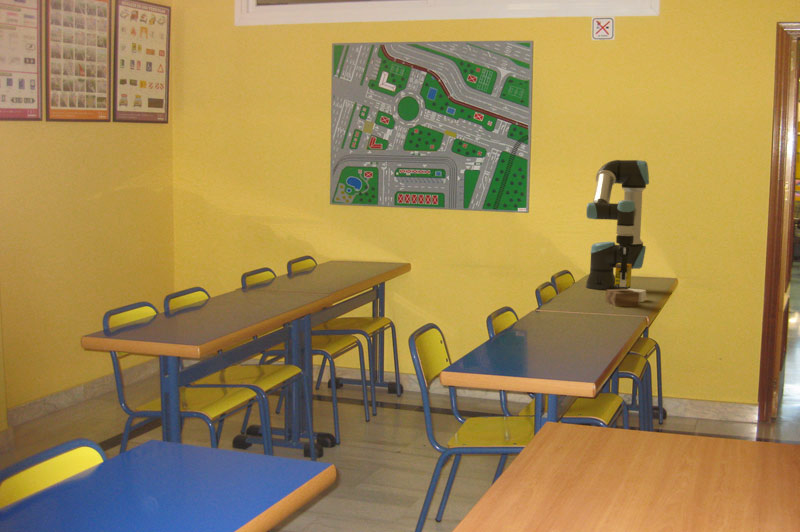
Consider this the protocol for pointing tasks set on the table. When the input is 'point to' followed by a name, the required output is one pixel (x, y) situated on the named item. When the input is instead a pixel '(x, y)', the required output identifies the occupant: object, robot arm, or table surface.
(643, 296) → the off-white block
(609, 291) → the walnut block
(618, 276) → the supplement box
